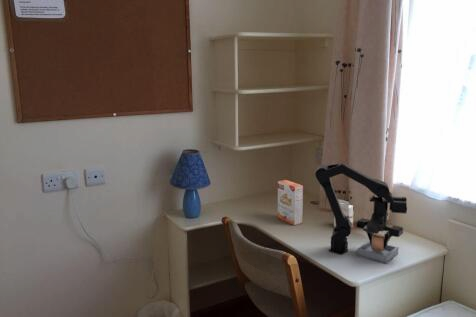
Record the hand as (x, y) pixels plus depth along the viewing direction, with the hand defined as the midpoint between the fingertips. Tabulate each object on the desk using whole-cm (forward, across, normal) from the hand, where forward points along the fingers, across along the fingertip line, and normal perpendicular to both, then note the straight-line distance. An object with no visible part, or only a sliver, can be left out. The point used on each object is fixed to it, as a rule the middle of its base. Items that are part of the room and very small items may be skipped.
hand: (378, 245), depth 188 cm
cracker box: (+4, -53, +11) cm, 54 cm away
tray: (+4, 0, 0) cm, 4 cm away
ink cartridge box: (+4, -27, +21) cm, 34 cm away
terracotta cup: (+1, 0, 0) cm, 1 cm away
